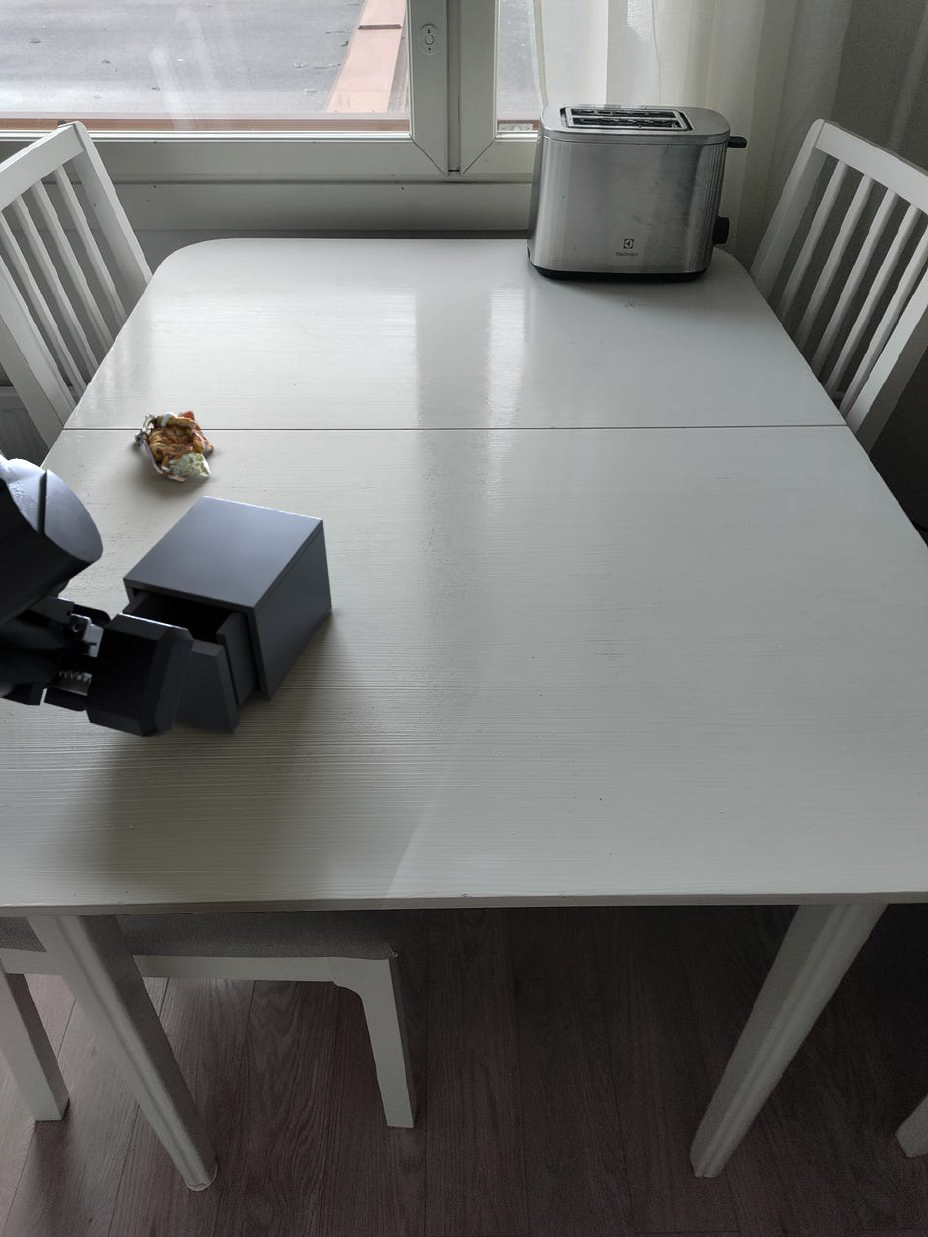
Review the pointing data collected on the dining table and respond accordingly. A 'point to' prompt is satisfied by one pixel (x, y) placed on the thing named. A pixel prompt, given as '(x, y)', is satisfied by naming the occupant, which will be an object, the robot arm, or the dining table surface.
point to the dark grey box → (246, 576)
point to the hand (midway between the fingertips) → (113, 657)
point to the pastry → (175, 445)
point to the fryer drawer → (207, 657)
